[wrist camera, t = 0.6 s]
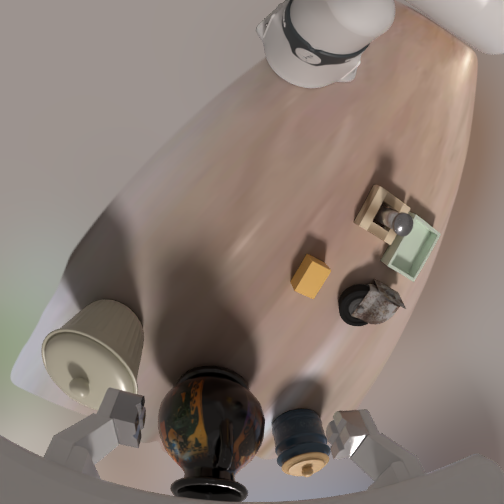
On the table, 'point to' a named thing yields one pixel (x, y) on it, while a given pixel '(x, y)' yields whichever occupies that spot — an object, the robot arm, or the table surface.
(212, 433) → the amphora vase
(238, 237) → the table surface
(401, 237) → the tray
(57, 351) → the canister
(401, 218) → the stop pin
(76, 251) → the table surface
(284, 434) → the canister
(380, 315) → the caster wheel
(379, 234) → the pin stand
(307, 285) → the chock
